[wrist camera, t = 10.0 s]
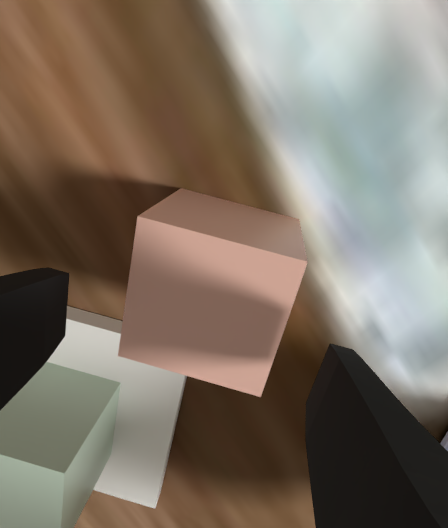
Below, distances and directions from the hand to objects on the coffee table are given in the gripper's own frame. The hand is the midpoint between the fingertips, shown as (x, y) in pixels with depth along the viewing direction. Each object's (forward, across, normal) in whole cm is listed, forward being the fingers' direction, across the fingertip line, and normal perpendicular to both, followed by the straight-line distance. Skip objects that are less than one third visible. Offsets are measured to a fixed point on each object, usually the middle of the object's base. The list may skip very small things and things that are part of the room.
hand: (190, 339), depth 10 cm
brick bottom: (+5, +6, +10) cm, 13 cm away
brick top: (+6, 0, 0) cm, 7 cm away
